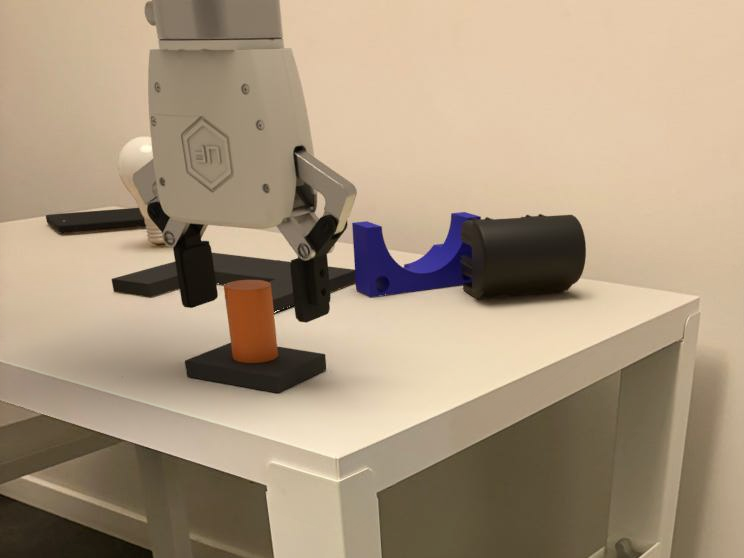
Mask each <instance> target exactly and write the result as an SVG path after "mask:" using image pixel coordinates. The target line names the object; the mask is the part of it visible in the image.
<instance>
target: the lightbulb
mask: <svg viewBox="0 0 744 558" xmlns="http://www.w3.org/2000/svg"><path fill="white" fill-rule="evenodd" d="M152 159H153V152H152V142H151V136H148V135H140V136H136V137H134V138H132V139H129V140H128V141H127V142H126V143H124V145H123V146H122V148H121V149H120V151H119V154H118V157H117V171H118V175H119V178H120V180H121V182H122V184H123V185H124V187H125V188H126V190H127V191H128V192H129V194H130V195H131V196H132V197H133V199H134V200H135V202H136V203H137V208H139V209H140V212H141V214H142V216H143V217H144V221H145V224H146V226H145V229H146V233H147V234H146V236H147V241H148V242H149V243H151V244H152V245H155V246H156V247H165V246H167V245H166V244H165V243H164V241H163V233H162V232H161V230H160V229H159V228H158V227H157V226H156V224H155V223H154V222H153V221H152V220H151V219H150V217H149V215H148V213H147V207H148V206H147V205H145V203H144V202H143V200H142V198H141V196H140V194H139V192H138V190H137V188H136V186H135V185H134V182H133V175H134V173H135V172H137V171H138V170H139V169H141V168H142V167H143V166H144V165H146V164H147V163H148V162H150V161H151V160H152Z"/></svg>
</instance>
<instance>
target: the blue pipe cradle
mask: <svg viewBox="0 0 744 558" xmlns="http://www.w3.org/2000/svg"><path fill="white" fill-rule="evenodd" d="M473 218H475V219H478V220H479V219H482V217H481V216H480V215H476V214H473V213H470V212H466V211H459V212H451V213H450V222H449V223H450V224H449V228H448V232H447V235H446V237H445V240H444V242H443V243H437V244H433V245H432V246H431V247H430V249H429V250H428V251H427V252H426V253H425V254H424V255H423V256H421V257H420V258H418V259H416V260H414V261H412V262H408V263H404V264H403V266H402V265H400V264H399V263H398V262H397V261H396V260H395V259H394V258H393V256H392V254H391V253H390V252H389V250H388V247H387V245H386V241H385V239H384V235H383V233H384V232H383V226H382V225H379V224H375V223H373V222H370V221H368V220H366V221H356V222H352V223H351V224H352V225H351V227H352V244H353V261H354V262H353V263H354V270H355V280H356V283H355V291H356V290H357V291H356V292H358V291H359V292H358V293H360V292H361V293H360V294H362V293H363V294H362V295H364V294H365V296H367V297H369V296H370V297H369V298H373V297H372V296H376V297H380V296H379V295H383V296H388V295H387V294H391V295H397V294H396V293H398V294H404V293H403V292H406V293H413V292H421V291H428V290H434V289H443V288H450V287H456V286H463V283H464V282H472V278H470V277H469V276H467V275H465V274H464V273H463V272H462V269H461V263H460V260H461V256H464V255H466V256H467V257H469V258H471V259H472V248H471V246H470V245H468V244H466V243H464V242H462V241H461V237H460V234H461V227H462V224H463V222H465V221H467V220H472V219H473ZM412 291H413V292H412ZM385 294H386V295H385Z"/></svg>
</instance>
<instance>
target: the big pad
mask: <svg viewBox="0 0 744 558" xmlns="http://www.w3.org/2000/svg"><path fill="white" fill-rule="evenodd" d="M212 258H213V265H214V272H215V279H216V283H219V284H218V285H220V284H227V283H229V282H233V281H239V280H262V281H266V282H269V283H270V284H271V290H272V300H273V310H274V312H275V311H277V310H281V309H283V308H287V307H289V306H292V305H294V297H293V288H292V278H291V269H290V263H291V261H287V260H278V259H270V258H262V257H253V256H244V255H237V254H236V255H235V254H228V253H219V252H212ZM328 272H329V283H330V293H332V292H331V291H333V292H335V291H338V290H340V289H339V288H341V289H343V288H346V287H349V286H351V285H353V283H354V284H356V280H355V268H345V267H337V266H329V265H328ZM111 284H112V291H113V293H118V294H126V295H133V296H138V297H145V298H154V297H156V296H160V295H163V294H166V293H169V291H170V292H172V290H173V291H176V290H180V288H179V282H178V276H177V270H176V264H175V261H171V262H168V263H164V264H160V265H157V266H152V267H149V268H146V269H142V270H137V271H135V272H130V273H128V274H124V275H121V276H117V277H112V278H111ZM350 284H351V285H350ZM348 285H349V286H348ZM345 286H346V287H345ZM342 287H343V288H342ZM175 289H176V290H175ZM337 289H338V290H337ZM334 290H335V291H334ZM287 309H288V308H287Z"/></svg>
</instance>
